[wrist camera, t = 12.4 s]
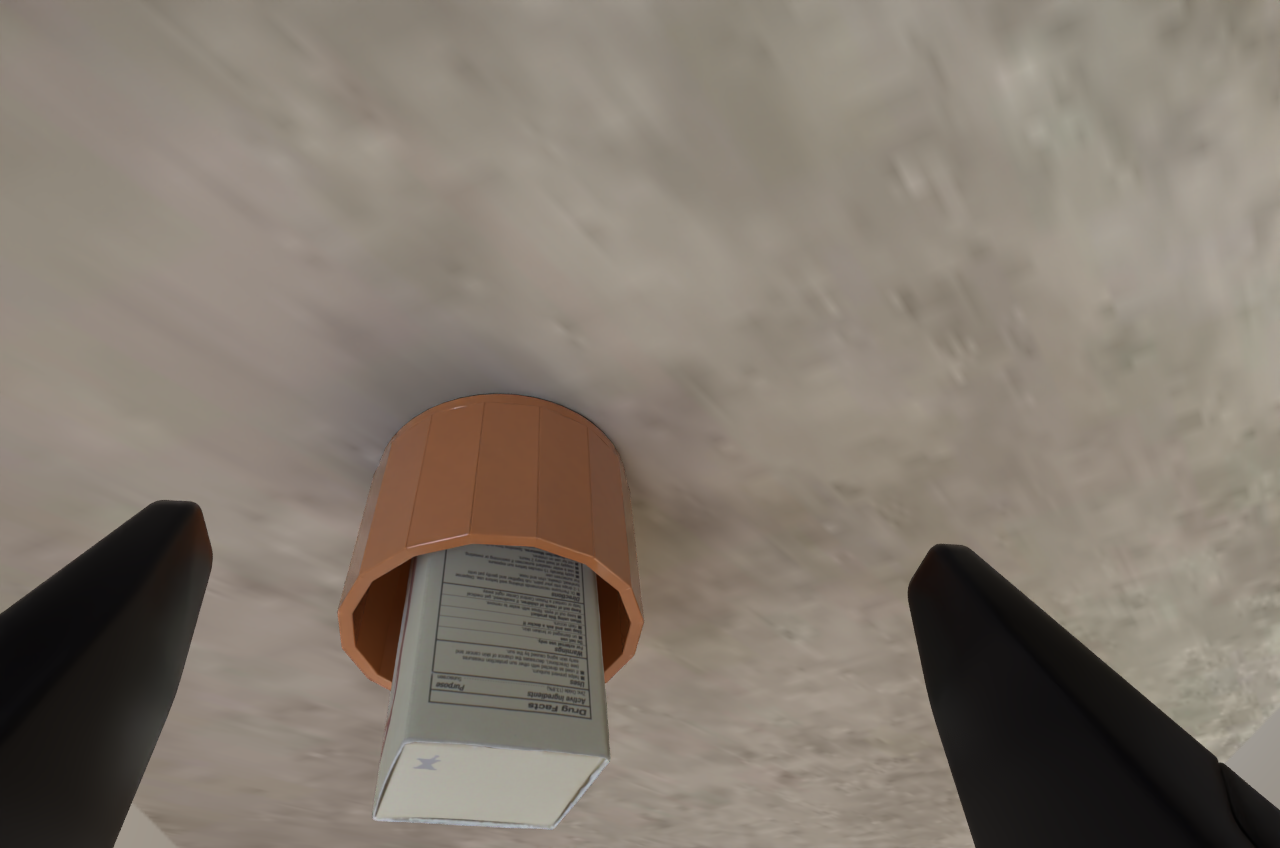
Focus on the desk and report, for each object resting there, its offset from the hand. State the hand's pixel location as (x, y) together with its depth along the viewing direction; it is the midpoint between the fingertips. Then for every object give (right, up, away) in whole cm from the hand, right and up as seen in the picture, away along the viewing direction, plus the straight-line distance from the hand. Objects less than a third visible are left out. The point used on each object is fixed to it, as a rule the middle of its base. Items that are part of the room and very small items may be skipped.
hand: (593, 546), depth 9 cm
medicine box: (-4, -1, +17) cm, 17 cm away
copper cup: (-4, -1, +17) cm, 18 cm away
